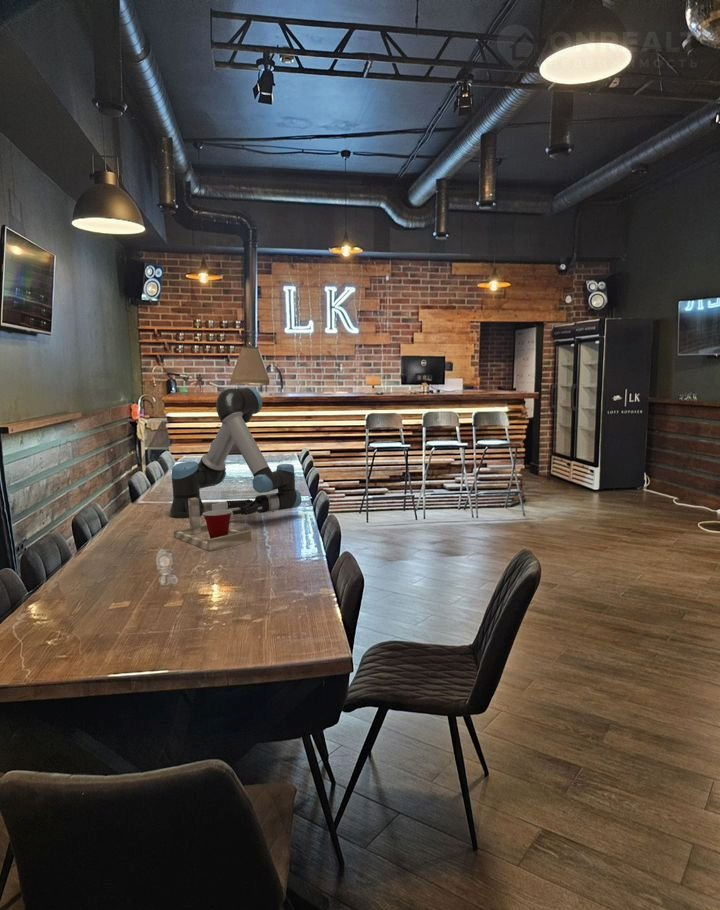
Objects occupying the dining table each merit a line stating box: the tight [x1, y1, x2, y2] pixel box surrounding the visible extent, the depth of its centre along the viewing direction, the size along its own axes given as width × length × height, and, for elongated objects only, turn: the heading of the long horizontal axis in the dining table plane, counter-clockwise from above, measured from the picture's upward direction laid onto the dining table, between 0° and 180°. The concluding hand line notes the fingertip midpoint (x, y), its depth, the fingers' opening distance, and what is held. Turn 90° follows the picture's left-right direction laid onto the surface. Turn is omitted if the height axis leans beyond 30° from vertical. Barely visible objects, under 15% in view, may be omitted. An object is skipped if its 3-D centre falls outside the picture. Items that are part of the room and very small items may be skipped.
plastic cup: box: [202, 509, 232, 539], centre depth 217 cm, size 11×11×12 cm
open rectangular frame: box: [173, 498, 252, 552], centre depth 221 cm, size 28×17×14 cm, turn 44°
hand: (217, 510), depth 235 cm, fingers open, 13 cm apart
